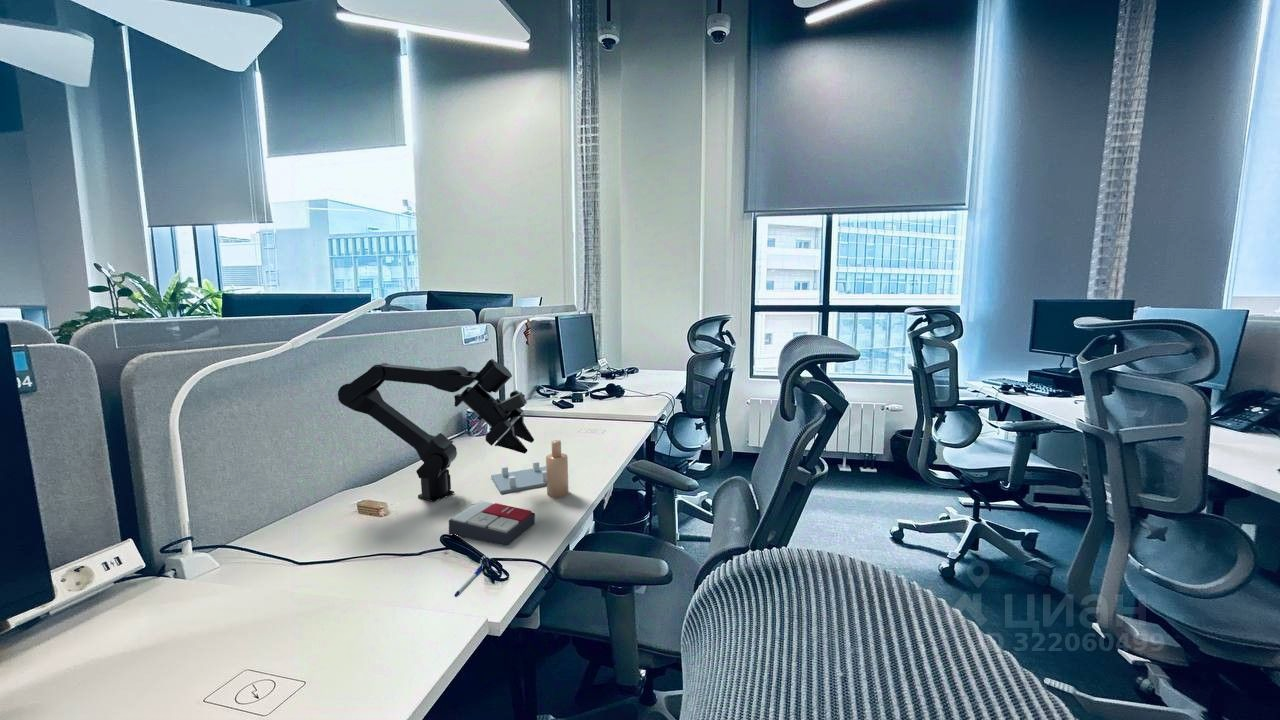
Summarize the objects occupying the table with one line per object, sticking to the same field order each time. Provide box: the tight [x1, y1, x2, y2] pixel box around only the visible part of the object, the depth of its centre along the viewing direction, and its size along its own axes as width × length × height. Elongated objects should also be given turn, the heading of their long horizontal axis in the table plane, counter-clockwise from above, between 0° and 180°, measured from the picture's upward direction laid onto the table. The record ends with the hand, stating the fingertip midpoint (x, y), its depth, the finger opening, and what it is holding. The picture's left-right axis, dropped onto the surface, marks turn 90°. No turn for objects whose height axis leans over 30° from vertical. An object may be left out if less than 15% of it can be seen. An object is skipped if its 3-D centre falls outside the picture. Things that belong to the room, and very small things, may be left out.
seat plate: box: [490, 460, 547, 495], centre depth 139 cm, size 16×13×3 cm
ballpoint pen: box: [454, 564, 483, 597], centre depth 90 cm, size 10×1×1 cm, turn 170°
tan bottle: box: [545, 439, 570, 499], centre depth 129 cm, size 6×6×14 cm
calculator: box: [448, 500, 536, 547], centre depth 110 cm, size 11×4×15 cm
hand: (529, 446), depth 128 cm, fingers open, 9 cm apart
